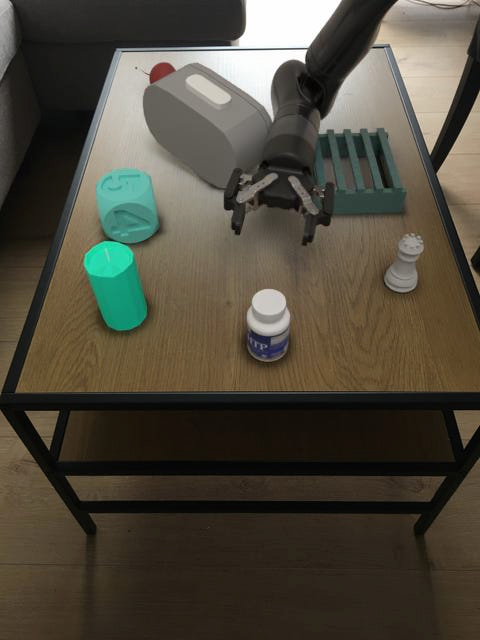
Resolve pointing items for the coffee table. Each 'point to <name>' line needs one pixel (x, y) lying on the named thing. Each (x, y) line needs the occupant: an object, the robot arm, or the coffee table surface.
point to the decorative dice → (127, 205)
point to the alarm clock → (206, 122)
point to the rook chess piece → (405, 265)
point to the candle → (116, 285)
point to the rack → (360, 197)
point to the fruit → (160, 71)
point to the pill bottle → (268, 325)
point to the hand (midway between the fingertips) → (271, 236)
